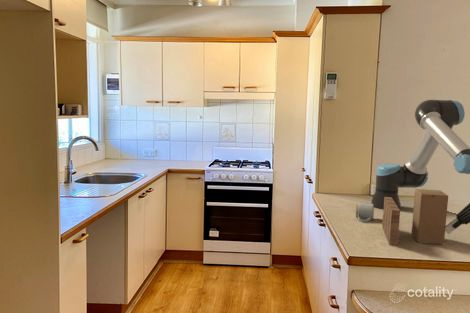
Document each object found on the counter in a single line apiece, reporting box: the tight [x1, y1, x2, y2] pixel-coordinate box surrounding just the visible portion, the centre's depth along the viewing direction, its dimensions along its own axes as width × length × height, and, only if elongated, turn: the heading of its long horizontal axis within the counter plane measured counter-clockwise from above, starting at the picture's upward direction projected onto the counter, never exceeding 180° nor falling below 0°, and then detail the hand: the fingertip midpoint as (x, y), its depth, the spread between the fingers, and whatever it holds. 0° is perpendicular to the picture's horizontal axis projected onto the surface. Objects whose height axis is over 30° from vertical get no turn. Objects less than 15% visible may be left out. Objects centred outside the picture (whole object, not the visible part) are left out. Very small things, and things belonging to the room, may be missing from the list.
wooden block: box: [411, 188, 449, 245], centre depth 158 cm, size 10×10×20 cm
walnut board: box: [381, 197, 401, 247], centre depth 162 cm, size 24×3×14 cm, turn 165°
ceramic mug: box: [355, 203, 375, 223], centre depth 186 cm, size 11×8×8 cm
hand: (445, 231), depth 157 cm, fingers closed
